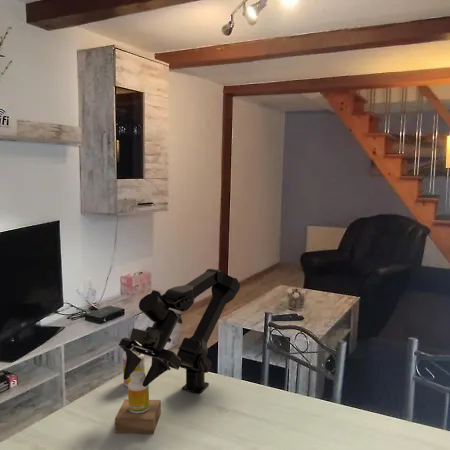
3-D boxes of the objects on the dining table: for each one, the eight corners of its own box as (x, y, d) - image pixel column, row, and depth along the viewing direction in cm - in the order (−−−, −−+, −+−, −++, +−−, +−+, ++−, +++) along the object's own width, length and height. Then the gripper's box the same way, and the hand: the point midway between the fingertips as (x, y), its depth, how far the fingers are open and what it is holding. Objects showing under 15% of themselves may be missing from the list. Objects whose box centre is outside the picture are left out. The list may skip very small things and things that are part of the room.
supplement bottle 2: (149, 413, 125) (147, 378, 124) (128, 414, 124) (126, 379, 123) (149, 402, 130) (148, 369, 129) (129, 404, 130) (128, 370, 128)
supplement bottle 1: (119, 386, 149) (118, 346, 147) (131, 377, 155) (130, 339, 153) (137, 390, 146) (136, 349, 144) (149, 380, 152) (148, 342, 151)
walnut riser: (125, 412, 133) (124, 399, 132) (160, 413, 132) (160, 400, 132) (115, 433, 123) (114, 418, 123) (153, 434, 123) (153, 419, 122)
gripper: (122, 309, 132) (92, 360, 125) (173, 322, 122) (143, 379, 114) (143, 328, 140) (115, 378, 132) (193, 342, 129) (166, 397, 122)
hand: (134, 382), depth 125 cm, fingers open, 7 cm apart
